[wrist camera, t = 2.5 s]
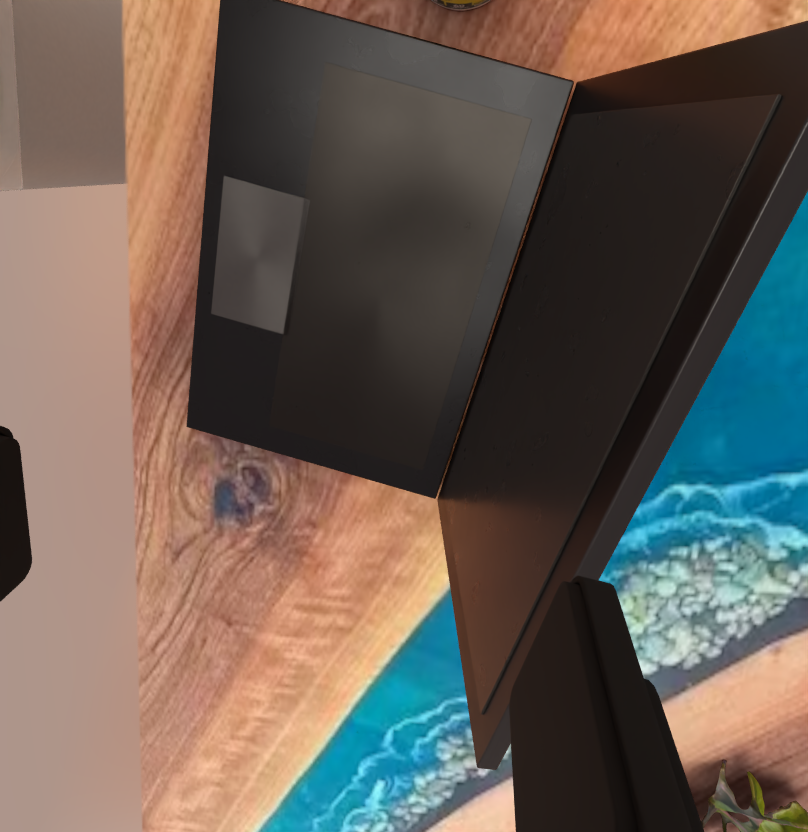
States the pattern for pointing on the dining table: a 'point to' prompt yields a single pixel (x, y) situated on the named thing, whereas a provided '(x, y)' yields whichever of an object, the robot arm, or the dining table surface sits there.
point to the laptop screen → (613, 331)
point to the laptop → (357, 236)
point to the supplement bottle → (460, 4)
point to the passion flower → (754, 810)
